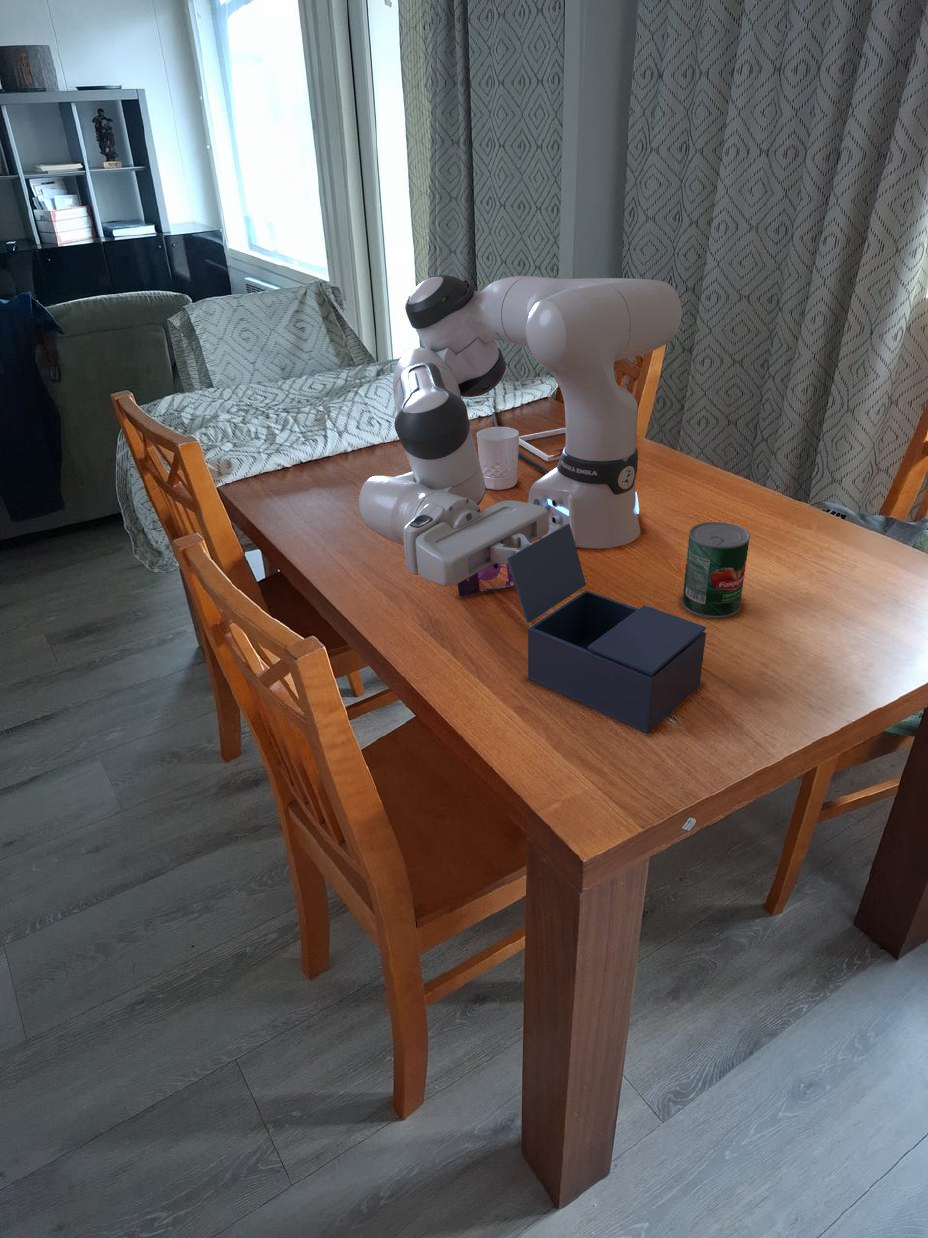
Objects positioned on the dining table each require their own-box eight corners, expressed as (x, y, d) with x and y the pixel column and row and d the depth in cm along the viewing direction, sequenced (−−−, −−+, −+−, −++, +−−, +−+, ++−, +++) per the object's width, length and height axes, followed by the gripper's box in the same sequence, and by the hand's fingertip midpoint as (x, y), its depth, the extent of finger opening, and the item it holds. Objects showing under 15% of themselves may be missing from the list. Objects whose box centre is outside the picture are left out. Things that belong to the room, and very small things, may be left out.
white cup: (526, 480, 160) (526, 429, 155) (506, 494, 154) (505, 442, 149) (492, 473, 164) (490, 424, 159) (470, 487, 158) (468, 436, 153)
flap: (528, 623, 98) (526, 623, 98) (586, 585, 106) (584, 585, 106) (509, 557, 96) (506, 557, 96) (569, 523, 103) (567, 523, 104)
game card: (454, 552, 119) (513, 542, 121) (446, 549, 124) (503, 539, 126) (460, 597, 120) (519, 587, 122) (452, 592, 125) (509, 583, 127)
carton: (527, 679, 102) (527, 622, 98) (584, 638, 110) (585, 584, 106) (647, 734, 92) (652, 672, 88) (700, 685, 100) (707, 626, 96)
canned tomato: (691, 586, 121) (699, 517, 115) (746, 598, 117) (756, 527, 112) (674, 611, 115) (681, 539, 109) (731, 624, 111) (741, 550, 106)
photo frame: (622, 440, 173) (547, 456, 167) (622, 446, 174) (547, 461, 168) (586, 422, 185) (514, 436, 179) (586, 427, 185) (514, 441, 179)
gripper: (502, 523, 118) (581, 549, 109) (398, 577, 105) (479, 611, 97) (501, 482, 115) (583, 505, 106) (394, 532, 102) (477, 563, 94)
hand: (533, 556), depth 101 cm, fingers closed
